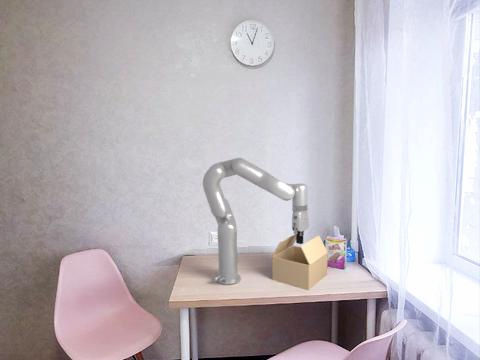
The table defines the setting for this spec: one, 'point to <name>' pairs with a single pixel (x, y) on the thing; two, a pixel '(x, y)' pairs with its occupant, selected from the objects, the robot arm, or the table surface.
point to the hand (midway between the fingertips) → (299, 243)
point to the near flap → (313, 249)
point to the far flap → (285, 244)
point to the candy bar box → (336, 252)
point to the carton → (298, 268)
